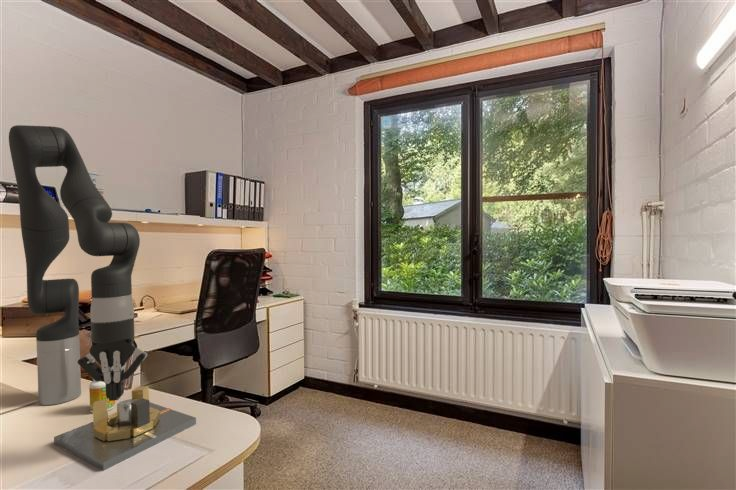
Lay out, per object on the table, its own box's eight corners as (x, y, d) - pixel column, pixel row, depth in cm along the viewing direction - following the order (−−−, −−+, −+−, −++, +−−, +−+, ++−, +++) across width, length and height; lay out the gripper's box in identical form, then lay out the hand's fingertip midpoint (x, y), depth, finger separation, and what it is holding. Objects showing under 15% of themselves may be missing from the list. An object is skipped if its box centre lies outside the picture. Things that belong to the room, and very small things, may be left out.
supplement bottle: (102, 414, 95) (101, 376, 95) (84, 412, 96) (83, 375, 96) (120, 405, 100) (119, 368, 100) (103, 403, 101) (102, 367, 101)
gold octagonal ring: (84, 432, 83) (83, 402, 83) (139, 409, 94) (138, 383, 94) (114, 446, 77) (113, 414, 77) (170, 420, 88) (169, 392, 88)
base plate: (54, 443, 82) (52, 411, 81) (146, 406, 99) (145, 380, 99) (103, 470, 72) (102, 434, 72) (196, 423, 89) (195, 394, 89)
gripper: (66, 323, 74) (69, 410, 74) (141, 318, 77) (143, 402, 77) (86, 315, 82) (88, 395, 82) (153, 312, 84) (155, 389, 85)
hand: (115, 399), depth 80 cm, fingers closed
